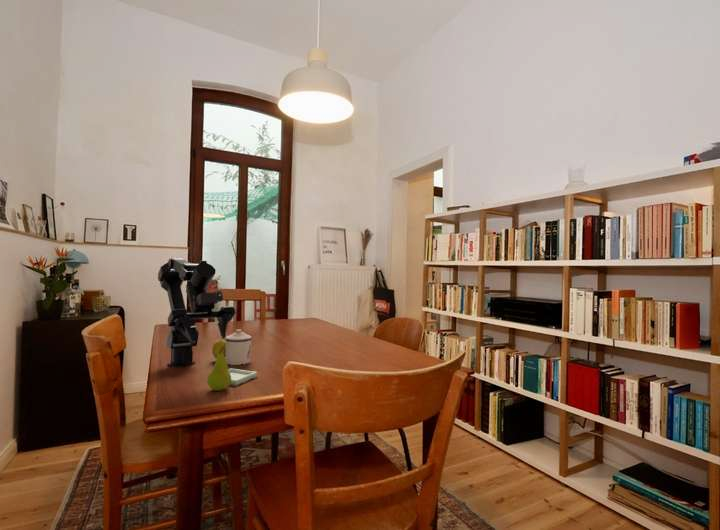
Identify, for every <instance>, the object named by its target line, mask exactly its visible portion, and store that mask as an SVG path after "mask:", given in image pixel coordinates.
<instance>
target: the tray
mask: <svg viewBox="0 0 720 530" xmlns="http://www.w3.org/2000/svg"><path fill="white" fill-rule="evenodd" d="M228 371H229V373H230V375H231V383H230V385H229V386H233V387H235V386H239V385H242V384H244V383H246V382H248V380H249V381H250V379H251V380H253V379H256V378H257V377H258V372H257V371H253V370H252V371H251V370H244V369H237V368H231V367H230V368H228ZM252 378H253V379H252ZM241 383H242V384H241Z"/></svg>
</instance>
